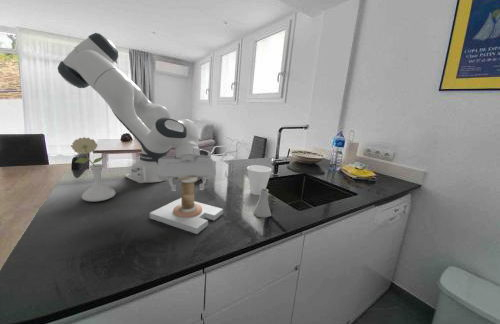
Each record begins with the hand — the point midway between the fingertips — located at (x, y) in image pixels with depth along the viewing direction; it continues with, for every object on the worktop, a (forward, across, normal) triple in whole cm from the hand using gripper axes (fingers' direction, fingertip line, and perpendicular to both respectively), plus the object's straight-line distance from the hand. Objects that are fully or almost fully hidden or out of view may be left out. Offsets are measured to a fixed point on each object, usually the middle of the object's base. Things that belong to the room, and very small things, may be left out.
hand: (188, 189), depth 76 cm
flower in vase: (-8, -35, +22) cm, 42 cm away
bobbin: (+5, 0, +6) cm, 8 cm away
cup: (-6, +33, +21) cm, 40 cm away
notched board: (+7, 0, +8) cm, 10 cm away
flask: (+9, +28, +6) cm, 30 cm away
